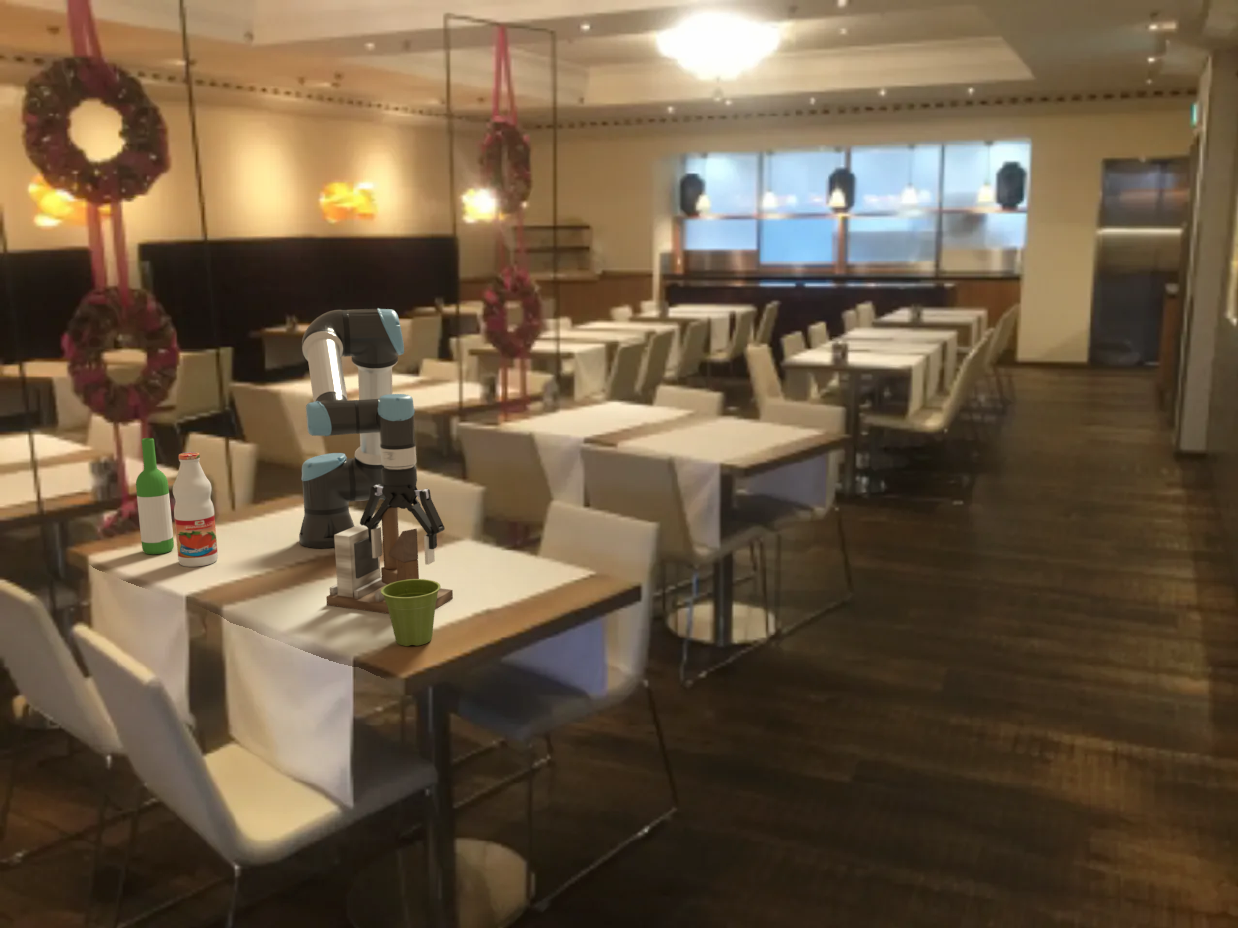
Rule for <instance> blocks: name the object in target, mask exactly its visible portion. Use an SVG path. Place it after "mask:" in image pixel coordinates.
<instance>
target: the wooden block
mask: <svg viewBox="0 0 1238 928" xmlns="http://www.w3.org/2000/svg"><path fill="white" fill-rule="evenodd" d="M398 513H399V512H398V508H392V507H390V508H388V509H387V511H386V512H385V513H384V515H383V516H382V520H381V537H382V556H383V566H382V567H380V570H381V577H382V582H383V583H385V584H387V585H388V584H390V583H393V582H397V581H401V580H408V579H420V573H419V570H420V569H419V548H418V546H419V545H418V530H417V529H418V528H412V529H411V528H410V529H407V530H403V531H401V532H400V533H401V534H400V533H399V515H398ZM399 534H400V535H399Z"/></svg>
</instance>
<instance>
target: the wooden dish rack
mask: <svg viewBox="0 0 1238 928" xmlns="http://www.w3.org/2000/svg"><path fill="white" fill-rule="evenodd" d="M354 526H355V527H352V528H350V529H347V530H345V531H342V532H340V533H338V534H335V535H334V541H335V547H334V555H335V557H334V558H335V571H336V584H334V585H332V586H329V594H328V595H326V596H325V597H326V605H327V606H331V607H339V608H346V609H353V610H360V611H365V612H374V613H381V614H389V610H388V606H387V604H386V601H385V598H384V595H382V594H381V589H382V588H383V587H384V586H386V585H387V584H385V583H383V582H382V576H381V556H379V557H377V558H373V557H372V542H369V533H368V528H367V527H366V526H364V525H361V524H360V523H359V524H357V525H354ZM376 527H379V525H378V526H376ZM453 595H454V594H453V589H448V588H440V590H439V591H438V595H437V600H436V605H435V610H436V609H438V608H439V607H441V606H443V605H444V604H446V603H447V602H449V601H451V600H453V598H454V597H453ZM389 615H390V614H389Z"/></svg>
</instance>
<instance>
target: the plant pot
mask: <svg viewBox="0 0 1238 928" xmlns="http://www.w3.org/2000/svg"><path fill="white" fill-rule="evenodd" d="M440 588H441V583H439V582H437V581H434V580H431V579H425V578H419V579H408V580H401V581H397V582H393V583H390V584H388V585H386V586H384V587H383V588H382V589H381V594H382V595H384V598H385V601H386V604H387V606H388V610H389V618H390V623H391V626H392V630H393V635H394V638H395V642H396V644H398V645H400V646H403V647H409V646H415V647H417V646H418V647H419V646H422V645H425V644H427V643H430V641H432V638H433V631H434V622H435V612H436V609H435V605H436V600H437V595H438V591H439V590H440Z"/></svg>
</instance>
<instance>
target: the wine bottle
mask: <svg viewBox="0 0 1238 928" xmlns="http://www.w3.org/2000/svg"><path fill="white" fill-rule="evenodd" d="M141 449H142V458H143V460H142V461H143V470H142V471H141V472H140V473H139V474H138V475H137V477H136V479H135V480H136V481H135V489H136V502H137V509H138V510H137V511H138V520H139V529H140V532H139V533H140V540H141V548H142V551H143V553H145V554H146V555H162V554H166V553H169V552H172V551H173V549H174V547H175V541H174V530H173V520H172V518H173V517H172V510H171V502H170V491H169V490H170V489H169V482H168V478H167V476H166V474H164V472H162V471H161V470H160V469H158V466H157V465H158V464H157V457H156V446H155V439H154V438H153V437H144V438H142V439H141Z"/></svg>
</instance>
